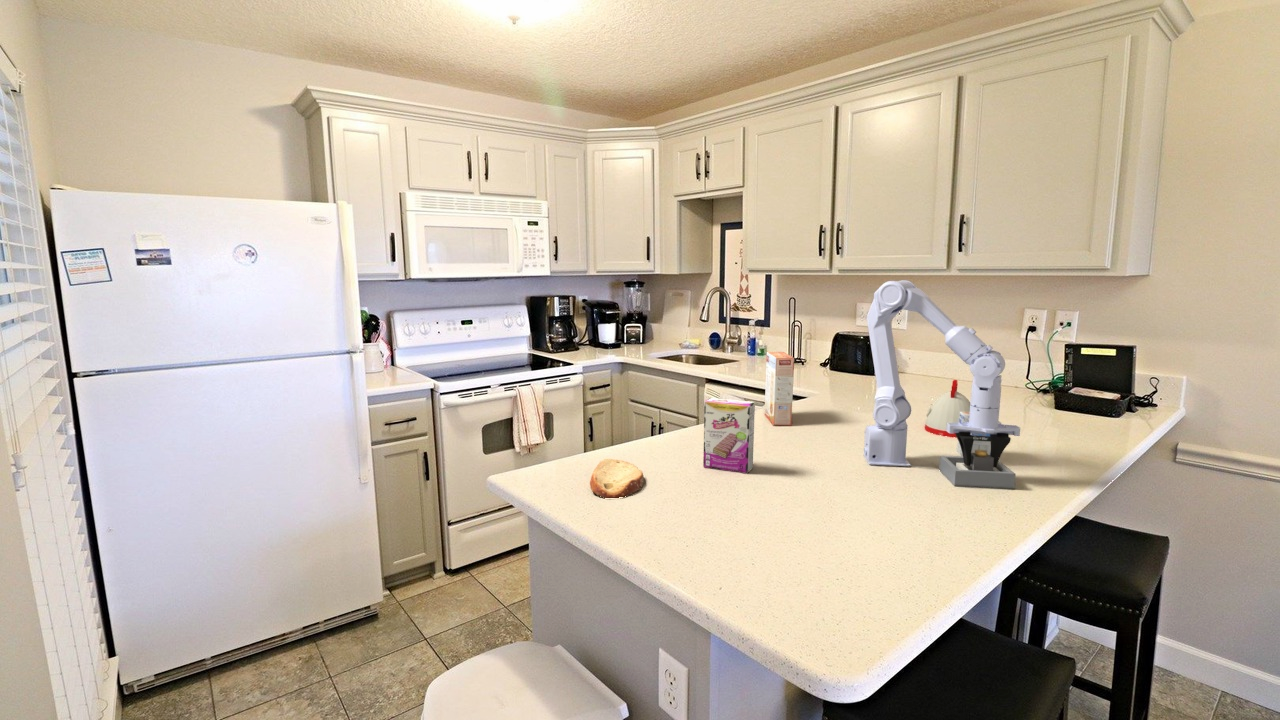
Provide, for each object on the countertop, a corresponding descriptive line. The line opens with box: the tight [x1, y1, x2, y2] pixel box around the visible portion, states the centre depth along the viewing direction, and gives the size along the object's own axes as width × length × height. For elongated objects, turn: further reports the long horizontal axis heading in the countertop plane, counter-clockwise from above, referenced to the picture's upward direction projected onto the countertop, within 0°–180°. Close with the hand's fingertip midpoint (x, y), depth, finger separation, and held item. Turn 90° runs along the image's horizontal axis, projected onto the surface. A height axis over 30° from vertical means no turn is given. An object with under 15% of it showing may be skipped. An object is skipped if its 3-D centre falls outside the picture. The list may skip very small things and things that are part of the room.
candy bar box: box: [702, 397, 756, 474], centre depth 146 cm, size 11×5×16 cm, turn 65°
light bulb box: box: [956, 412, 1002, 457], centre depth 153 cm, size 11×7×11 cm, turn 169°
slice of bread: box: [589, 458, 644, 499], centre depth 139 cm, size 18×18×4 cm
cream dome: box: [924, 379, 971, 439], centre depth 178 cm, size 14×14×15 cm
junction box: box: [938, 455, 1016, 490], centre depth 138 cm, size 12×11×4 cm
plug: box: [967, 450, 994, 471], centre depth 138 cm, size 4×4×6 cm
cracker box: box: [764, 351, 795, 427], centre depth 191 cm, size 14×6×21 cm, turn 179°
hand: (979, 465), depth 139 cm, fingers open, 5 cm apart
